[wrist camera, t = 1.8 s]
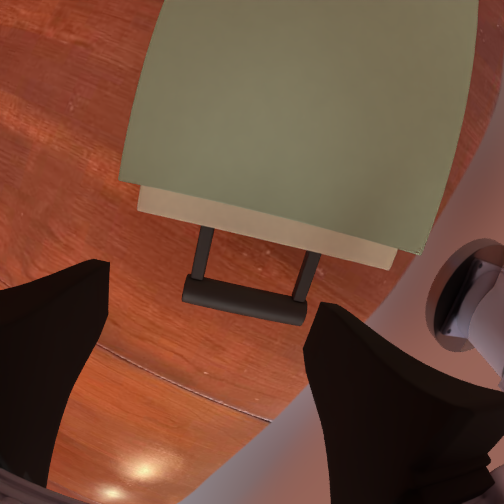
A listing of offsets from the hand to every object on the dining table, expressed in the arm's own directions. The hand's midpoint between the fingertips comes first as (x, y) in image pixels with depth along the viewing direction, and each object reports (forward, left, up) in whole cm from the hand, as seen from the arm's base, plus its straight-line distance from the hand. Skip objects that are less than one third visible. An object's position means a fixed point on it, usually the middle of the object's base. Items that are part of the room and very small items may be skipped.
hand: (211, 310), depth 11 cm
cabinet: (-2, -10, -10) cm, 14 cm away
